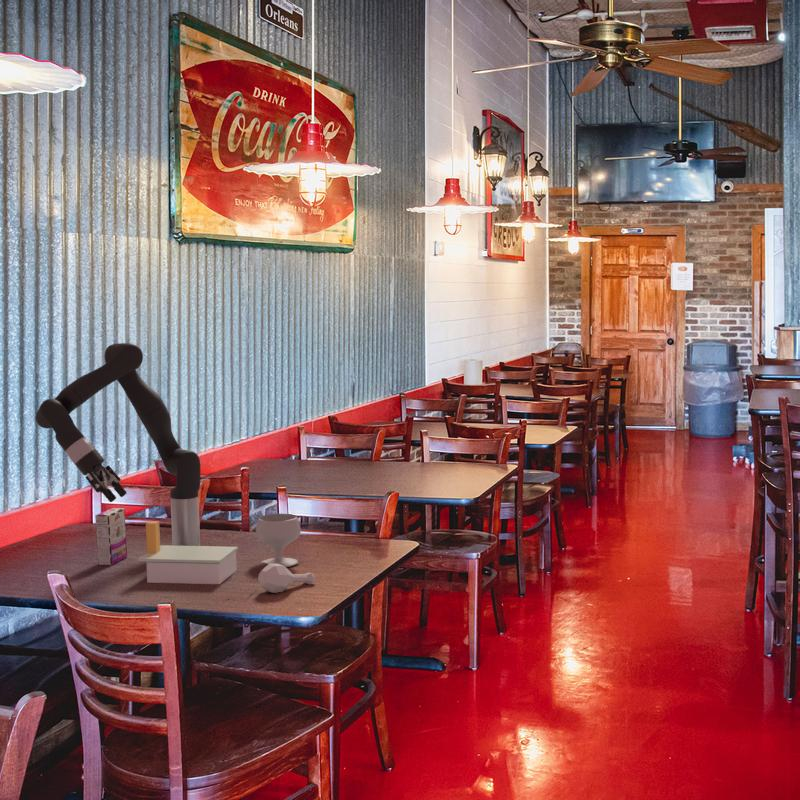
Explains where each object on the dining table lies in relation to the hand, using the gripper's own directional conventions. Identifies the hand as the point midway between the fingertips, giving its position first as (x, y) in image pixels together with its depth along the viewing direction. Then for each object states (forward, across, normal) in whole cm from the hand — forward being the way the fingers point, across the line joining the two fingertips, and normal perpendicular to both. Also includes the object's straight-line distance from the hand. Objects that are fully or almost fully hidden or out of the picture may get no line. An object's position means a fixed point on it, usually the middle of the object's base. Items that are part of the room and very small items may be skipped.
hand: (119, 497), depth 310 cm
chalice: (+47, +17, -19) cm, 54 cm away
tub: (+33, -2, -2) cm, 33 cm away
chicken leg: (+52, -11, -26) cm, 59 cm away
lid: (+27, -2, -6) cm, 27 cm away
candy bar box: (+13, +19, +24) cm, 33 cm away
